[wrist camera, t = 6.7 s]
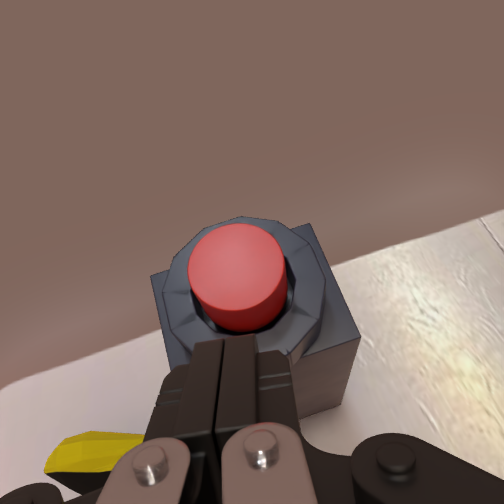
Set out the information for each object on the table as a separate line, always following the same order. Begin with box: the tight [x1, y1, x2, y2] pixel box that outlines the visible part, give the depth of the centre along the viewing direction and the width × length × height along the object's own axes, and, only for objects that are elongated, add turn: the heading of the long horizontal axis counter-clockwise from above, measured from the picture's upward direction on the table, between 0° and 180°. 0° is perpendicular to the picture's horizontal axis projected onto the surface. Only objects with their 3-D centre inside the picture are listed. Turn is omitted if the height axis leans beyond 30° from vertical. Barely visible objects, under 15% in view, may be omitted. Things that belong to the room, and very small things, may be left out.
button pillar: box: [150, 216, 361, 419], centre depth 26 cm, size 8×6×18 cm
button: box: [187, 223, 288, 332], centre depth 17 cm, size 4×4×2 cm
